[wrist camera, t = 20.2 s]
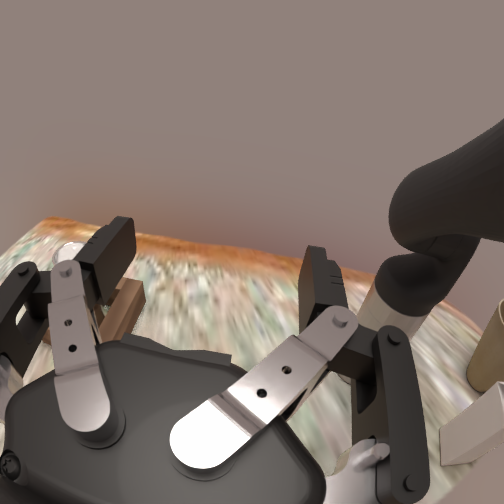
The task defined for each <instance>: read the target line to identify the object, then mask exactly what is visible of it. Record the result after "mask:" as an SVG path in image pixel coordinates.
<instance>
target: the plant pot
mask: <svg viewBox="0 0 504 504" xmlns="http://www.w3.org/2000/svg"><path fill="white" fill-rule="evenodd" d="M467 378H468V381H469V383H470V385H471V386H472V387H473V388H474V389H475V390H477V391H479V392H485V391H488V390H489V389H490V388H491V387H492V386H493V385H494V384H495V383H496V382H504V299H502V300H501V302H500V303H499V305H498V307H497V309H496V311H495V312H494V314H493V316H492V318H491V320H490V322H489V323H488V325H487V327H486V329H485V331H484V333H483V335H482V337H481V339H480V341H479V343H478V345H477V348H476V350H475V352H474V354H473V356H472V359H471V361H470V364H469V366H468V369H467Z"/></svg>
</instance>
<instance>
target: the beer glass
mask: <svg viewBox="0 0 504 504" xmlns="http://www.w3.org/2000/svg"><path fill="white" fill-rule="evenodd" d="M85 244H86V242H82V241H75V242H70V243H67V244H65V245H63V246H61V247H60V248H58V249H57V250H56V251H55V253H54V255H53V257H52V262H53V265H54V266H55V265H56V264H57V263H59V262H61V261H64V260H72V259H73V258H74V257H75V256H76V255H77V253H78V252H79V251H80V250H81V249H82V247H83V246H84V245H85ZM93 309H94V312H95V316H96V320H97V324H98V328H99V327H100V325H101V323H102V322H103V320H104V318H105V316H106V314H107V311H106V310H105V308H104V306H103V305H99V304H95V306H94V307H93Z"/></svg>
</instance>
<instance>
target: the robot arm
mask: <svg viewBox="0 0 504 504" xmlns="http://www.w3.org/2000/svg"><path fill="white" fill-rule="evenodd" d="M389 226H390V230H391V233H392V235H393V237H394V239H395V240H396V241H397V242H398V243H399V244H400V245H401V246H403V247H404V248H406V249H408V250H410V251H413V252H415V253H412V254H406V255H398V256H393V257H390V258H388V259H387V260H385V261H384V262H383V263H382V265H381V266H380V268H379V270H378V273H377V275H376V277H375V279H374V281H373V283H372V286H371V288H370V290H369V292H368V294H367V296H366V298H365V300H364V302H363V304H362V306H361V308H360V310H359V312H358V314H357V316H356V315H355V314H354V313H353V312H352V311H351V310H349V308H348V303H347V298H346V293H345V288H344V286H343V285H344V283H343V279H342V274H341V269H340V268H339V266H338V265H337V264H336V262H335V261H332V260H327V256H326V251H325V248H322V247H316V246H310V245H308V247H307V250H306V253H305V256H304V260H303V264H302V267H301V271H300V274H299V280H298V298H299V335H298V336H297V337H296V336H295V335H291V336H290V337H288V338H287V339H286V340H285V341H284V342H283V343H282V344H280V345H279V346H278V347H277V348H276V349H275V350H274V351H272V352H271V353H270V354H269V355H268V356H267V357H266V358H264V359H263V360H262V361H261V362H260V363H259V364H257V365H256V366H255V367H254V368H253V369H251V370H250V371H249V372H247V371H245V370H244V369H242V368H241V367H239V366H237V365H235V364H232V363H231V356H232V355H229V354H223V353H218V352H212V351H206V350H172V349H170V348H167V347H165V346H163V345H161V344H159V343H157V342H155V341H153V340H151V339H149V338H145V337H141V336H137V335H133V334H129V333H125V332H124V334H123V336H122V338H121V340H111V341H106V342H103V343H102V339H101V336H100V332H99V328H98V324H97V320H96V316H95V312H94V309H93V307H94V306H95V304H99V305H103V306H105V305H106V303H107V301H108V300H109V298H110V296H111V295H112V293H113V291H114V290H115V288H116V286H117V285H118V283H119V281H120V280H121V278H122V276H123V275H124V273H125V272H126V270H127V268H128V267H129V265H130V264H131V262H132V261H133V259H134V257H135V254H136V238H135V229H134V221H133V219H132V218H128V217H121V216H117V217H116V218H114V220H113V221H112V222H111V223H110V224H109V225H105V226H104V227H102V228H100V229H99V230H97V231H96V232H95V234H94V235H93V236H92V238H90V239H89V240H88V242H87V243H86V244H85V245H84V246H83V247H82V249H81V250H80V251H79V252H78V253H77V255H76V256H75V257H74V258H73V259H72V260H64V261H61V262H59V263H57V264H56V265H55V266H54V267H53V268H52V270H51V271H38V269H37V266H36V264H35V263H34V262H30V261H28V262H23V263H21V264H19V265H17V266H16V267H15V268H14V269H13V270H12V272H11V273H10V274H9V275H8V277H7V278H6V279H5V281H4V282H3V283H2V285H1V286H0V423H2V424H4V425H5V440H4V448H3V452H2V455H1V457H0V504H413V503H416V502H418V501H420V500H421V499H422V498H423V497H424V496H425V495H426V493H427V491H428V489H429V486H430V471H429V458H428V447H427V438H426V429H425V422H424V415H423V408H422V402H421V396H420V390H419V385H418V379H417V374H416V369H415V365H414V360H413V355H412V351H411V347H410V340H411V339H412V338H413V336H414V335H415V334H416V332H417V331H418V329H419V328H420V326H421V325H422V323H423V322H424V321H425V319H426V318H427V316H428V315H429V313H430V311H431V310H432V309H433V307H434V306H435V305H436V304H438V303H439V302H441V301H442V300H443V299H444V298H445V297H446V296H447V294H448V293H449V291H450V290H451V288H452V287H453V286H454V284H455V283H456V281H457V279H458V278H459V277H460V275H461V274H462V272H463V270H464V269H465V267H466V266H467V264H468V262H469V261H470V259H471V258H472V256H473V254H474V252H475V250H476V248H477V246H478V244H479V242H480V239H481V238H484V239H489V240H493V241H499V242H503V243H504V119H503V120H501V121H500V122H499V123H498V124H496V125H495V126H493V127H492V128H490V129H489V130H487V131H486V132H484V133H483V134H481V135H480V136H478V137H476V138H475V139H473V140H472V141H470V142H468V143H467V144H465V145H464V146H462V147H461V148H459V149H457V150H456V151H454V152H452V153H450V154H448V155H446V156H444V157H442V158H440V159H438V160H435V161H433V162H431V163H428V164H426V165H424V166H422V167H420V168H418V169H416V170H414V171H412V172H411V173H410V174H409V175H408V176H407V177H406V178H404V180H403V181H402V182H401V183H400V185H399V186H398V188H397V190H396V191H395V193H394V196H393V198H392V201H391V204H390V208H389ZM23 304H24V306H25V308H26V312H25V313H24V315H23V316H22V318H21V320H20V321H19V323H18V325H17V326H16V316H17V314H18V312H19V310H20V309H21V307H22V306H23ZM48 327H50V337H51V346H52V353H53V360H54V367H55V369H54V370H52V371H50V372H49V373H47V374H45V375H43V376H42V377H40V378H38V379H36V380H35V381H33V382H31V383H29V384H28V385H26V386H24V387H23V377H24V374H25V372H26V370H27V368H28V366H29V364H30V362H31V360H32V358H33V356H34V354H35V352H36V350H37V348H38V346H39V344H40V342H41V340H42V338H43V337H44V335H45V333H46V331H47V329H48ZM331 371H333V372H336V373H338V374H339V376H340V377H341V378H342V379H343V380H344V381H346V382H347V383H349V384H351V404H352V447H351V448H349V449H348V450H347V451H345V452H344V453H343V454H341V456H340V457H339V459H338V461H337V464H336V468H335V471H334V473H333V474H332V475H331V476H330V477H325V475H324V473H323V471H322V469H321V467H320V466H319V464H318V463H317V462H316V460H315V459H314V458H313V457H312V455H311V454H310V453H309V451H308V450H307V449H306V448H305V446H304V445H303V444H302V442H301V441H300V440H299V438H298V437H297V436H296V434H295V433H294V432H293V430H292V429H291V428H290V426H289V425H288V424H287V421H288V420H289V419H290V418H291V417H292V416H293V415H294V414H295V413H296V412H297V411H298V409H299V408H300V407H301V406H302V404H303V403H304V402H305V401H306V400H307V398H308V397H309V396H310V395H311V394H312V393H313V392H314V390H315V389H316V388H317V387H318V386H319V385H320V384H321V382H322V381H323V380H324V379H325V378H326V377H327V375H328V374H329V373H330V372H331Z"/></svg>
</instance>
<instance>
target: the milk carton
mask: <svg viewBox="0 0 504 504" xmlns="http://www.w3.org/2000/svg"><path fill="white" fill-rule="evenodd" d="M439 431H440V449H441V466H446V465H455V464H464V463H470V462H472V461H474V460H476V459H477V458H479V457H481V456H483V455H484V454H486V453H488V452H489V451H491V450H492V449H494V448H496V447H497V446H499V445H500V444H502V443H504V382H496V383H495V384H494V385H493V386H492V387H491V388H490V389H489V390H488V391H486V392H485V393H484V394H483V395H482V396H481V397H480V398H479V399H477V400H476V401H475V402H474V403H473V404H471V405H470V406H469V407H468V408H467V409H465V410H464V411H463V412H462V413H460V414H459V415H458V416H456V417H455V418H454V419H452V420H451V421H450V422H448V423H447V424H446V425H444V426H443V427H442V428H440V429H439Z"/></svg>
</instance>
